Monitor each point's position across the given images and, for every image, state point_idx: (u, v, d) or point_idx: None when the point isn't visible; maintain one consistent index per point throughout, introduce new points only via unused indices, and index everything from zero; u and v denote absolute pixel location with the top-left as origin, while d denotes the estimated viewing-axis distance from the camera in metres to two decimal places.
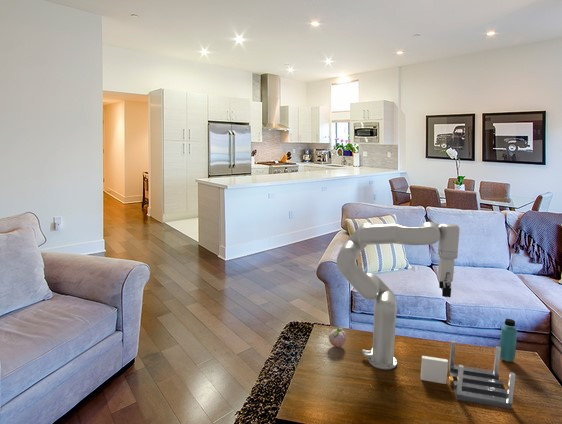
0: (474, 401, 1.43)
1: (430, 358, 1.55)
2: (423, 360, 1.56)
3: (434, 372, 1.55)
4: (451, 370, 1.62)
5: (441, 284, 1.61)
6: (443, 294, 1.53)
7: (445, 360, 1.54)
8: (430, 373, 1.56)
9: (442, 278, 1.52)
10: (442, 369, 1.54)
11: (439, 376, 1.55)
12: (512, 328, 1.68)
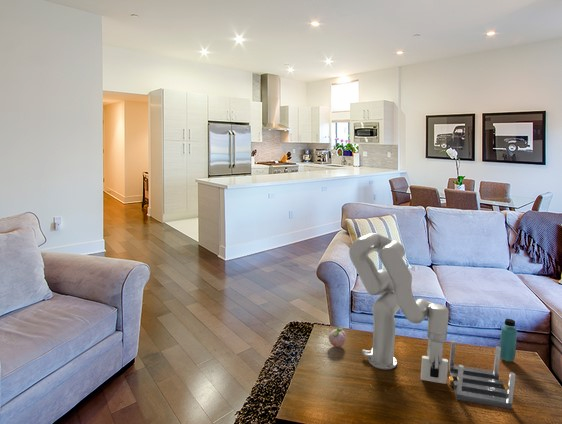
0: (474, 401, 1.43)
1: None
2: (423, 360, 1.56)
3: None
4: (451, 370, 1.62)
5: None
6: (431, 374, 1.55)
7: (445, 360, 1.54)
8: None
9: (431, 360, 1.51)
10: (442, 369, 1.54)
11: (439, 376, 1.55)
12: (512, 328, 1.68)
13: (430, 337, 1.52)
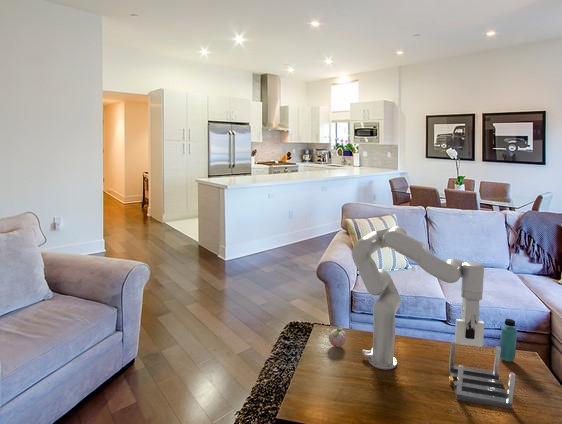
0: (474, 401, 1.43)
1: None
2: (458, 323, 1.49)
3: None
4: (451, 370, 1.62)
5: None
6: (466, 336, 1.48)
7: (481, 322, 1.47)
8: None
9: (467, 320, 1.44)
10: (478, 331, 1.47)
11: (475, 339, 1.48)
12: (512, 328, 1.68)
13: (465, 296, 1.45)
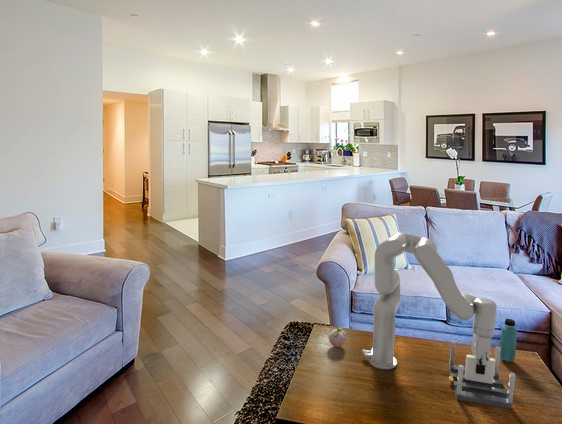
0: (474, 401, 1.43)
1: None
2: (468, 359, 1.50)
3: None
4: (451, 370, 1.62)
5: None
6: (477, 371, 1.49)
7: (492, 359, 1.48)
8: (475, 372, 1.50)
9: (478, 357, 1.45)
10: (488, 368, 1.49)
11: (485, 375, 1.49)
12: (512, 328, 1.68)
13: (477, 332, 1.46)
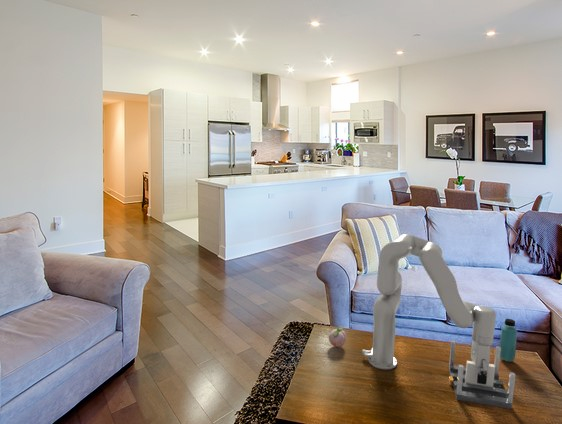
0: (474, 401, 1.43)
1: None
2: (468, 365, 1.50)
3: None
4: (451, 370, 1.62)
5: None
6: (478, 381, 1.46)
7: (492, 365, 1.49)
8: (476, 379, 1.50)
9: (477, 364, 1.46)
10: (489, 374, 1.49)
11: None
12: (512, 328, 1.68)
13: (476, 340, 1.47)
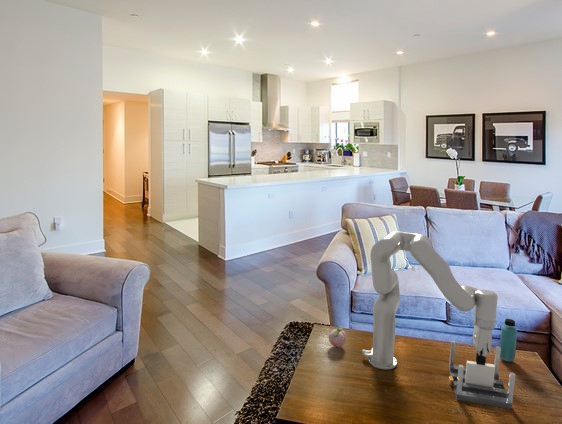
0: (474, 401, 1.43)
1: (476, 363, 1.50)
2: (468, 365, 1.50)
3: (480, 378, 1.50)
4: (451, 370, 1.62)
5: None
6: (477, 362, 1.50)
7: (492, 365, 1.49)
8: (476, 379, 1.50)
9: (479, 348, 1.44)
10: (489, 374, 1.49)
11: (485, 381, 1.50)
12: (512, 328, 1.68)
13: (478, 324, 1.45)
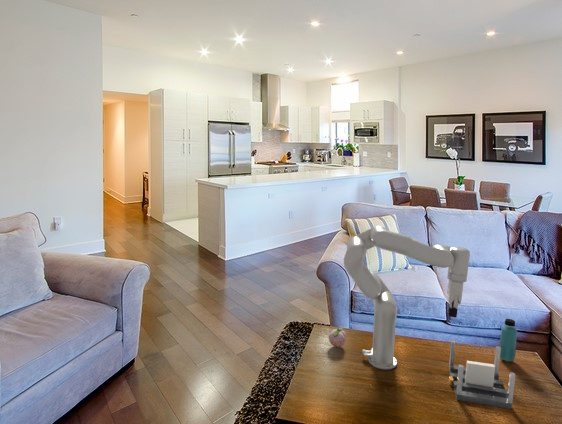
0: (474, 401, 1.43)
1: (476, 363, 1.50)
2: (468, 365, 1.50)
3: (480, 377, 1.50)
4: (451, 370, 1.62)
5: None
6: (449, 314, 1.61)
7: (492, 365, 1.49)
8: (476, 379, 1.50)
9: (450, 300, 1.56)
10: (489, 374, 1.49)
11: (485, 381, 1.50)
12: (512, 328, 1.68)
13: (450, 278, 1.57)
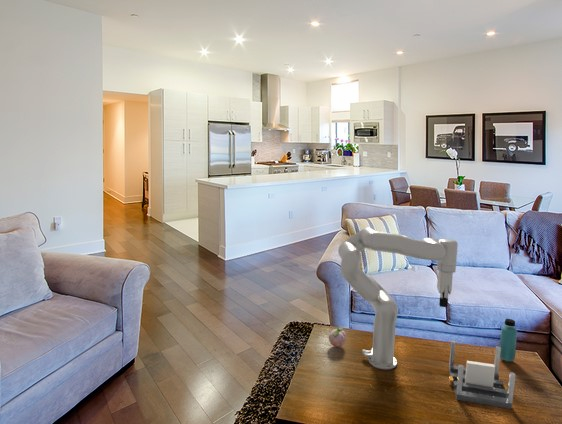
0: (474, 401, 1.43)
1: (476, 363, 1.50)
2: (468, 365, 1.50)
3: (480, 377, 1.50)
4: (451, 370, 1.62)
5: None
6: (440, 304, 1.66)
7: (492, 365, 1.49)
8: (476, 379, 1.50)
9: (441, 290, 1.61)
10: (489, 374, 1.49)
11: (485, 381, 1.50)
12: (512, 328, 1.68)
13: (440, 269, 1.62)
